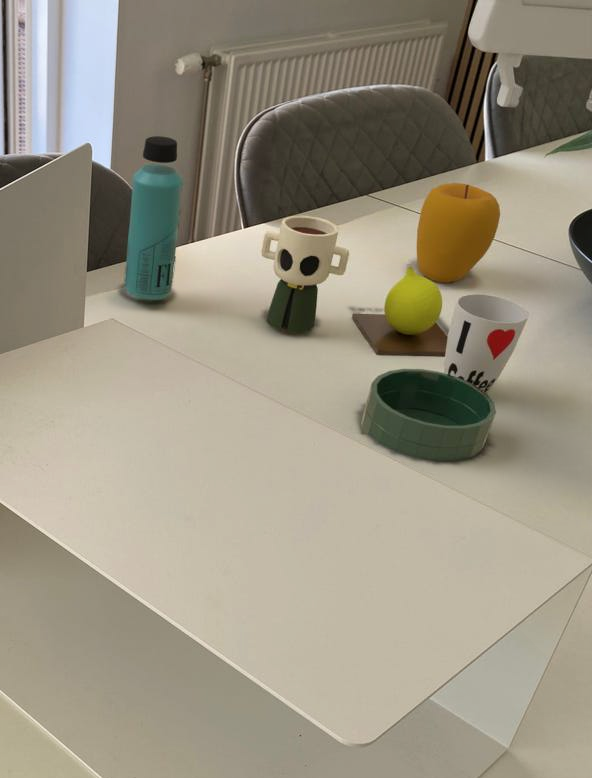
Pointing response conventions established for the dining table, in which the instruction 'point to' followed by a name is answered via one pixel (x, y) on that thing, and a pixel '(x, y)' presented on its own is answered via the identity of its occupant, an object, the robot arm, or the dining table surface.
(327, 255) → the character mug
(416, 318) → the green fig
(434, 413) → the pot
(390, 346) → the coaster
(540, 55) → the robot arm
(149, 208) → the beverage bottle
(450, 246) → the orange rounded piece
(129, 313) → the dining table surface
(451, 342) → the cup
